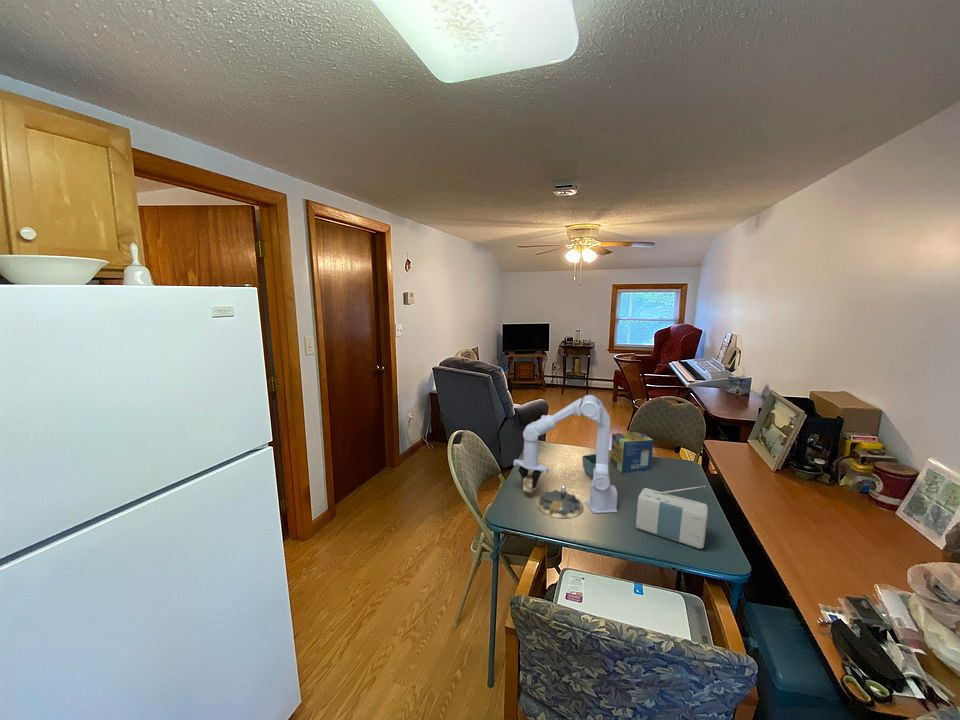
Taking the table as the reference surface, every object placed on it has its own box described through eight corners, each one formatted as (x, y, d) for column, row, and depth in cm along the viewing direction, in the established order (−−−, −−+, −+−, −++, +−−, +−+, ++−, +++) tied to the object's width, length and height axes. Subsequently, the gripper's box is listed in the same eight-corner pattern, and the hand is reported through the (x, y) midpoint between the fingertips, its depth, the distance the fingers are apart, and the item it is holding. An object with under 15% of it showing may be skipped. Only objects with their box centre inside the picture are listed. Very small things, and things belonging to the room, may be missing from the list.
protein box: (609, 463, 189) (611, 433, 186) (638, 461, 192) (640, 431, 189) (621, 473, 179) (623, 441, 176) (651, 470, 182) (654, 439, 179)
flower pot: (591, 483, 170) (592, 463, 168) (580, 474, 178) (581, 455, 177) (608, 480, 172) (610, 461, 171) (597, 471, 181) (598, 453, 179)
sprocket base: (573, 492, 162) (573, 486, 162) (590, 517, 144) (590, 510, 144) (531, 494, 160) (531, 488, 160) (543, 520, 142) (543, 513, 142)
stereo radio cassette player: (634, 530, 137) (639, 478, 133) (639, 519, 143) (644, 468, 140) (702, 553, 125) (709, 496, 122) (705, 539, 132) (711, 485, 128)
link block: (536, 487, 159) (536, 475, 159) (531, 492, 155) (531, 480, 154) (528, 485, 161) (529, 473, 160) (523, 490, 157) (523, 478, 156)
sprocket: (584, 499, 155) (585, 487, 154) (573, 519, 142) (574, 505, 141) (547, 490, 162) (547, 477, 161) (533, 507, 149) (534, 494, 148)
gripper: (551, 454, 155) (550, 486, 157) (519, 446, 163) (518, 476, 165) (544, 461, 149) (543, 493, 152) (511, 452, 157) (510, 483, 160)
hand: (530, 485), depth 158 cm, fingers closed on link block, 3 cm apart
